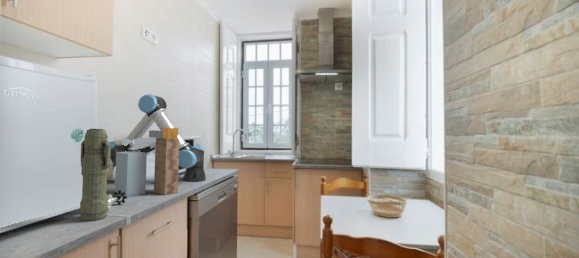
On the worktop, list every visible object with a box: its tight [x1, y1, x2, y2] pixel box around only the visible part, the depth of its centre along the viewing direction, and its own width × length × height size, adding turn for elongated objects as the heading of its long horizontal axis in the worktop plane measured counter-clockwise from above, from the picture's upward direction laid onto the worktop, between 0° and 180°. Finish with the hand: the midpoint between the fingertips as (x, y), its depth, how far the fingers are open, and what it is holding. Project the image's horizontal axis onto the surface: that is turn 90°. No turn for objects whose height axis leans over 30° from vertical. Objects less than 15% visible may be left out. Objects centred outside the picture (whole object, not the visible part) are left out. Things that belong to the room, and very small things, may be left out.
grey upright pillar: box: [114, 151, 148, 197], centre depth 154 cm, size 10×12×22 cm
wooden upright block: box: [153, 138, 180, 196], centre depth 158 cm, size 8×10×30 cm
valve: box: [106, 190, 128, 212], centre depth 126 cm, size 7×7×12 cm
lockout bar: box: [148, 127, 179, 139], centre depth 161 cm, size 6×20×6 cm, turn 57°
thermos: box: [79, 128, 111, 222], centre depth 112 cm, size 9×12×35 cm
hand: (145, 142), depth 170 cm, fingers open, 13 cm apart
